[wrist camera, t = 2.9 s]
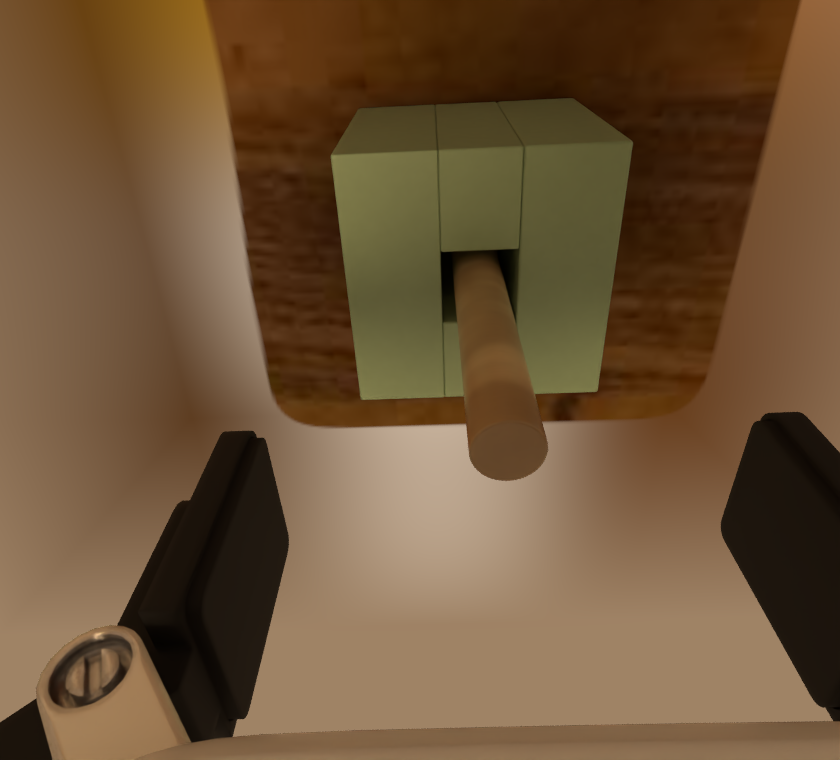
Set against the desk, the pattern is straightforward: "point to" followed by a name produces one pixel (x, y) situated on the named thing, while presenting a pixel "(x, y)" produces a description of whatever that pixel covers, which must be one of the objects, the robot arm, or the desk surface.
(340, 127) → the desk surface
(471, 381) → the stick
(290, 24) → the desk surface
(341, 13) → the desk surface
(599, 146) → the stand
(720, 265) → the desk surface
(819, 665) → the robot arm
